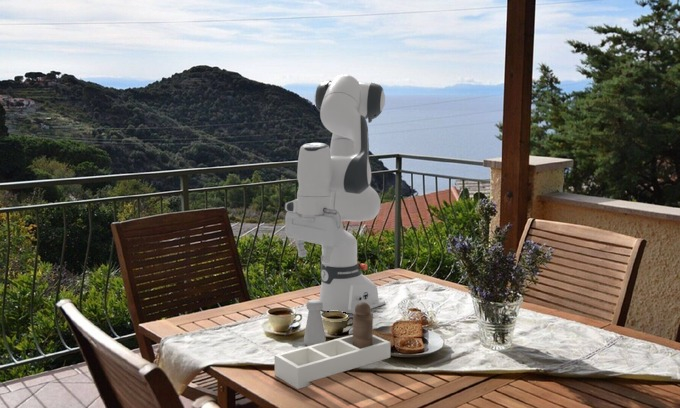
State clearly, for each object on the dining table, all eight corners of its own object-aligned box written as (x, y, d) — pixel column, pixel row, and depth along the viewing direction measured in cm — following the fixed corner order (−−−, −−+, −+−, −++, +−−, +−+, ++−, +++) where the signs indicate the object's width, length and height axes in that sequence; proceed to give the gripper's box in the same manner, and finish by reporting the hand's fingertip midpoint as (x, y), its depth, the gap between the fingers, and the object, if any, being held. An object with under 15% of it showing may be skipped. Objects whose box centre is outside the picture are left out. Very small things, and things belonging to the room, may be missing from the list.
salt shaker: (322, 352, 175) (322, 304, 173) (301, 350, 176) (301, 303, 174) (327, 344, 181) (327, 298, 179) (307, 343, 182) (306, 296, 180)
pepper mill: (363, 350, 174) (364, 298, 172) (376, 356, 170) (377, 303, 168) (348, 355, 171) (348, 301, 169) (361, 361, 167) (361, 306, 165)
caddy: (365, 349, 177) (365, 331, 177) (390, 361, 170) (390, 342, 169) (274, 374, 161) (274, 355, 160) (297, 389, 153) (297, 368, 152)
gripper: (350, 209, 166) (349, 264, 168) (300, 202, 182) (299, 252, 183) (330, 211, 162) (330, 267, 164) (281, 203, 178) (280, 255, 179)
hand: (313, 259), depth 174 cm, fingers open, 8 cm apart
